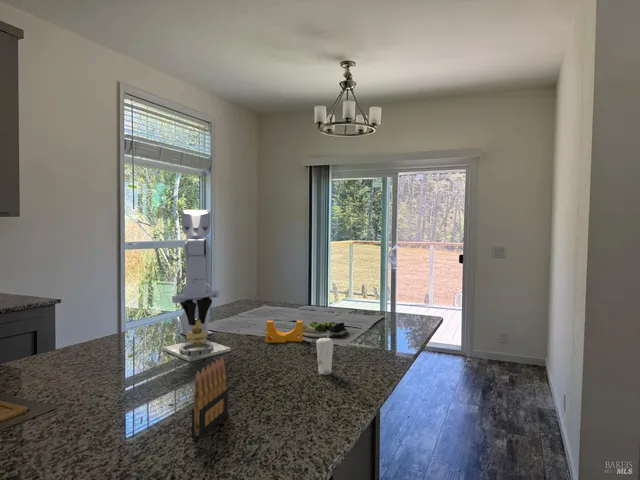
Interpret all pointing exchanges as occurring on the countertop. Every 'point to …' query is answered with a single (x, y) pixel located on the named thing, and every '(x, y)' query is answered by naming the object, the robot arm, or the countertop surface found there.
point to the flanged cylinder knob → (197, 331)
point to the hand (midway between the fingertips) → (196, 323)
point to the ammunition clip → (209, 398)
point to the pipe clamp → (284, 333)
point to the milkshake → (324, 355)
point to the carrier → (196, 349)
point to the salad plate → (324, 329)
